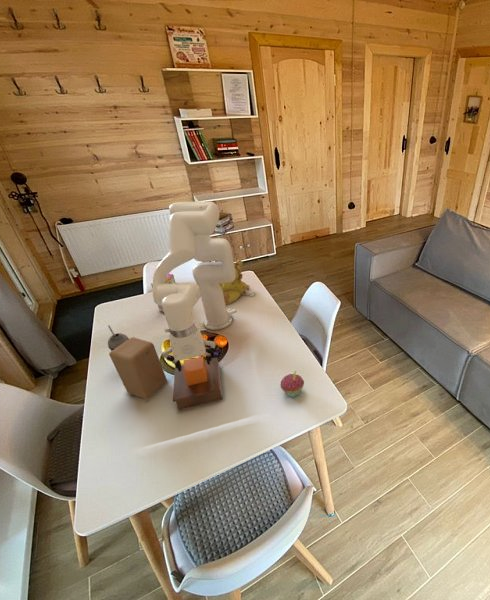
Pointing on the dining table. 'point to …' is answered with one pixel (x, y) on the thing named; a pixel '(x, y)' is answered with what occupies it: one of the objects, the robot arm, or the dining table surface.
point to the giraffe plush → (234, 286)
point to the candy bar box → (169, 280)
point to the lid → (185, 391)
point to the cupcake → (292, 384)
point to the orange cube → (195, 371)
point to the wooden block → (138, 367)
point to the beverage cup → (116, 340)
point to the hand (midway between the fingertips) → (194, 365)
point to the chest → (201, 398)
